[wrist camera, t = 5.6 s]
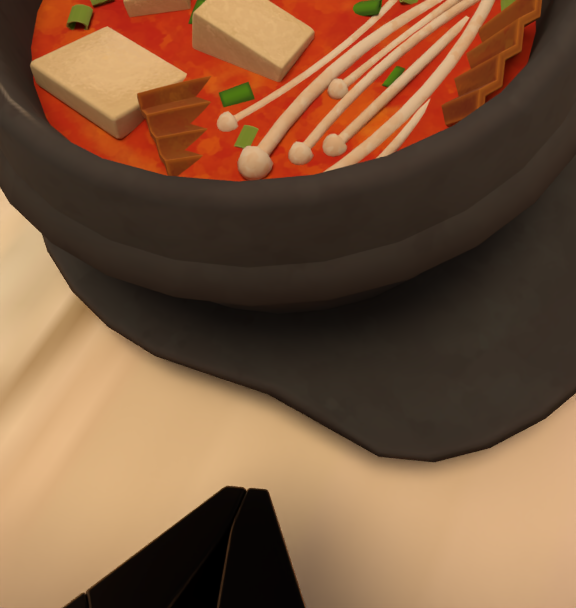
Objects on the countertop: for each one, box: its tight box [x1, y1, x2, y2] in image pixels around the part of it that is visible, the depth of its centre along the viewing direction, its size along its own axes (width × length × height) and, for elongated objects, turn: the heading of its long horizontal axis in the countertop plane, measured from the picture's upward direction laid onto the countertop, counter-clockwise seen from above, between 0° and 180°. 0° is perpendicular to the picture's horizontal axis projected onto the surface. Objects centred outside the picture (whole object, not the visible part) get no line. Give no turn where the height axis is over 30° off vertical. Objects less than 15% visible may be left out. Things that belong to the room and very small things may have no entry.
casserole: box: [0, 0, 576, 462], centre depth 15 cm, size 25×19×8 cm
